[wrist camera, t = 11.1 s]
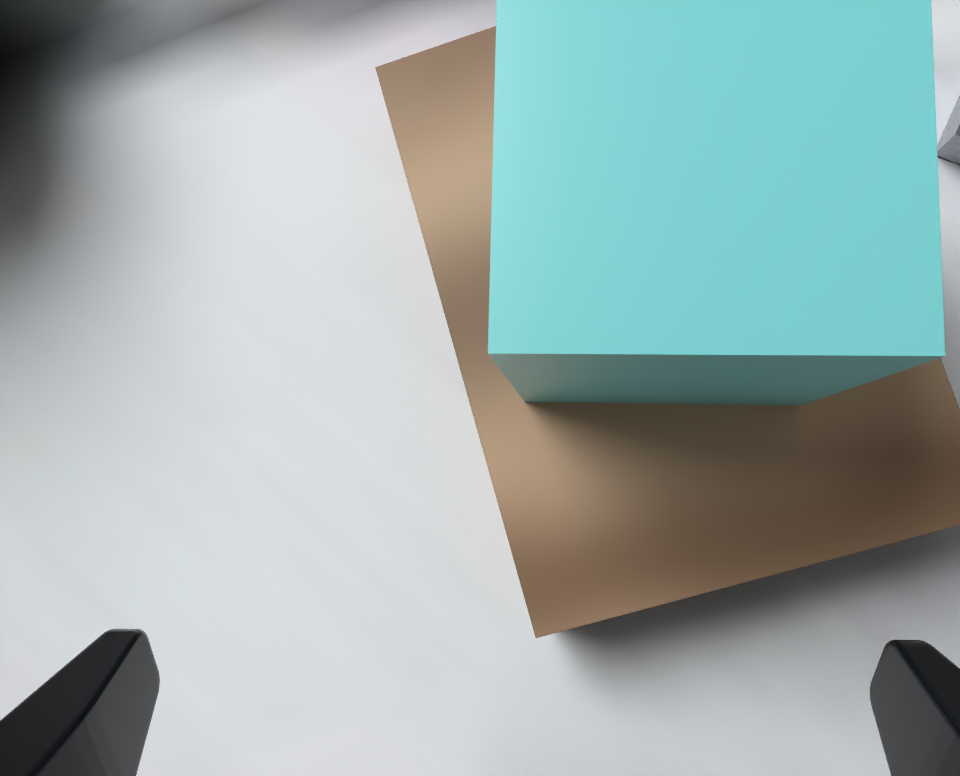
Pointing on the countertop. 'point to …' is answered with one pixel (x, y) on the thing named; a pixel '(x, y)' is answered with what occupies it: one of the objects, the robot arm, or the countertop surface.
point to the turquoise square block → (713, 199)
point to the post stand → (951, 137)
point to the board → (652, 419)
